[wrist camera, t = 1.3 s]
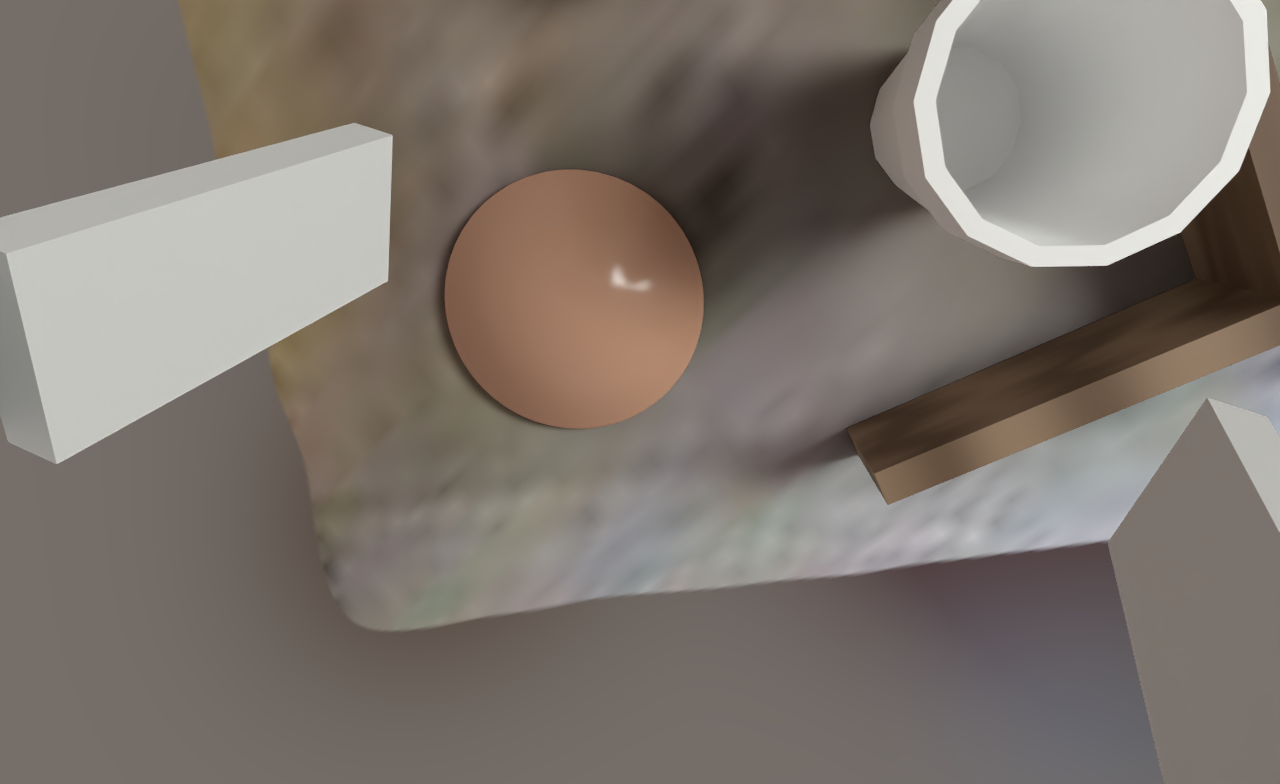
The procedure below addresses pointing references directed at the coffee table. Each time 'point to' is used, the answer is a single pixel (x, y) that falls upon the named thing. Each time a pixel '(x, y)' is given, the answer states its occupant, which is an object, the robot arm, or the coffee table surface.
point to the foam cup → (1073, 120)
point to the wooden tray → (1106, 345)
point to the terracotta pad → (574, 298)
